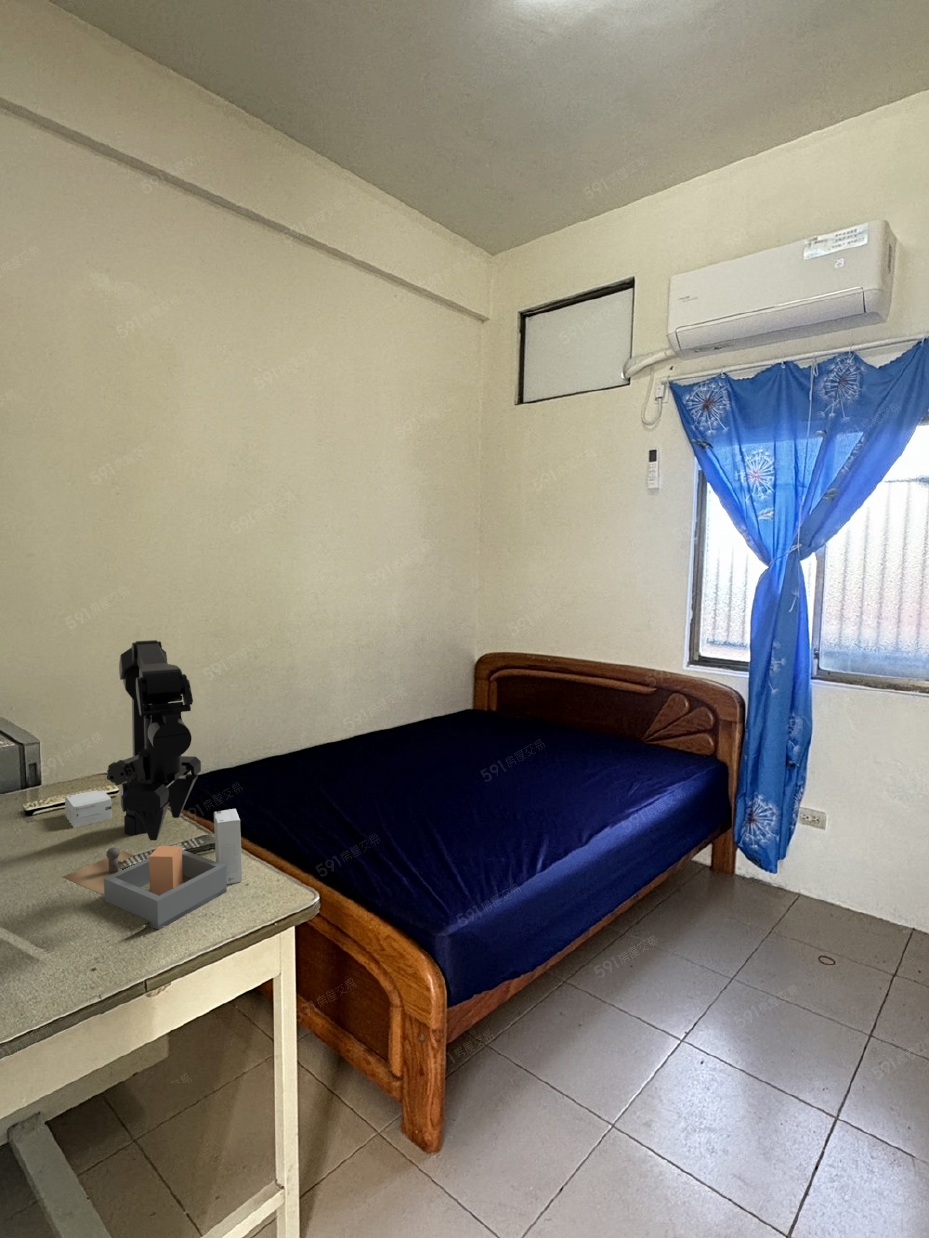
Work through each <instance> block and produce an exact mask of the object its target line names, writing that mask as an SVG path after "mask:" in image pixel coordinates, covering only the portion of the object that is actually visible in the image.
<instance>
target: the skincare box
mask: <svg viewBox="0 0 929 1238" xmlns="http://www.w3.org/2000/svg"><path fill="white" fill-rule="evenodd" d="M213 825H214V829H213V830H214V845H215V848H214V849H215V851H214V852H215V862H218V863H221V864H224V865H226V886H227V885H231V884H237V883H241V882H243V861H242V841H241V840H242V839H241V835H242V833H241V819H240V817H239V814H238V812H237V808H232V809H231V808H229V809H224V810H218V811H214V812H213Z"/></svg>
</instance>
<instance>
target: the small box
mask: <svg viewBox="0 0 929 1238" xmlns="http://www.w3.org/2000/svg"><path fill="white" fill-rule="evenodd" d="M64 805H65V806H64V808H65V809H64V810H65V811H64V812H65V818H66V817H67V818H66V819H67V821H68V820H69V821H68V822H69V824H70V823H71V824H70V825H71V827H72V826H73V827H72V828H73V829H76V827H77V828H79V827H83V826H87V825H93V824H95V823H96V824H97V823H102V822H105V821H110V820H113V816H112V815H113V810H112V807H113V806H112V798H111V796H110V795H108V793H106V792H105V790H104V789H103V788H100V789H96V790H91V791H84V792H81V793H77V794H76V793H75V794H72V795H67V796H65V797H64Z"/></svg>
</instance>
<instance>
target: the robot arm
mask: <svg viewBox="0 0 929 1238" xmlns="http://www.w3.org/2000/svg"><path fill="white" fill-rule="evenodd" d="M118 671H119V673H118V674H119V679H120V681H122V683H123V686H124V689H125V691H126V692H127V694H128V696H129V697H130V698H131V724H132V725H131V726H132V729H131V731H132V735H131V736H132V756H131V757H129V758H126V759H119V760H118V761H116V762H115V761H114V762H112V763H110V764H109V765H108V767H107V770H106V773H107V775H106V780H108V781H110V783H113V784H114V785H115V786H120V785H121V786H120V794H119V795H120V796H119V797H120V806H121V810H122V813H123V812H124V813H125V815H124V816H123V823H124V834H125V835H128V836H131V837H133V836H138V835H143V834H147V836H148V839H149V841H157V840H158V838H159V836H160V833H161V830H162V827H163V823H164V820H165V817H166V814H167V811H168V807H169V805H170V812H171V816H172V818H173V819H179V818H180V817H181V814H182V812H183V810H184V808H185V805H186V802H187V800H188V798H189V796H190V793H191V792H192V789H193V787H194V785H195V782H196V781H197V779H198V776H199V775H198V774H199V773H201V771H202V761H201V760H200V759H199V758H198V757H197V756H185V755H184V754H185V753H186V752H187V751H188V749H189V748H190V746H191V744H192V739H193V738H192V734H191V732H190V729H189V727H188V726H187V725H186V724H185V722H183V719H182V713H185V712H191V711H192V708H191V705H193V704H194V703H193V702H194V699H193V693H192V687H191V682H190V680H189V679H188V676H187V675H186V674H185V673H184V674H183V672H182V669H181V668H180V667H179V666H178V665H176V664H171V663H170V664H169V662H168V655H167V651H165V650H164V649H163V646H162V641H160V640H157V639H156V640H155V639H153V640H152V639H151V640H136V641H135V642H132V643H131V647H130V648H128V649H126V651H124V652H122V653H121V654H120V655H119V662H118ZM183 755H184V756H183Z"/></svg>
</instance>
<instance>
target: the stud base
mask: <svg viewBox="0 0 929 1238" xmlns="http://www.w3.org/2000/svg"><path fill="white" fill-rule="evenodd" d="M133 856H136V855H134V854H131V853H129V852H127V851H120V850H119V848H117V847H115V846H114V847H110V848H109V849H108V850H107V851H106V858H103V859H101V860H99V861H97V862H94V863H91V864H90V865H87V866H84V867H82V868H80V869H77V870H74V871H73V872H71V873H68V874H66V875H63V876H62V878H64V879H66V880H68V881H70V882H72V883H75V884H78V885H80V886H82V887H84V888H87V889H89V890H91V891H93V892H95V893H96V894H97V893H98V894H99V895H102V896H103V895H104V878H106V877H108V876H110V875H112V874H115V873H117V872H119V871H121V870H122V869H119V868H118V861H122V860H126V859H128V858H131V857H133Z"/></svg>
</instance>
